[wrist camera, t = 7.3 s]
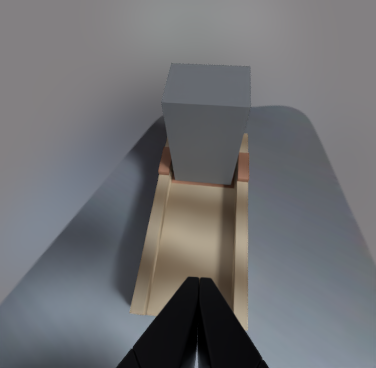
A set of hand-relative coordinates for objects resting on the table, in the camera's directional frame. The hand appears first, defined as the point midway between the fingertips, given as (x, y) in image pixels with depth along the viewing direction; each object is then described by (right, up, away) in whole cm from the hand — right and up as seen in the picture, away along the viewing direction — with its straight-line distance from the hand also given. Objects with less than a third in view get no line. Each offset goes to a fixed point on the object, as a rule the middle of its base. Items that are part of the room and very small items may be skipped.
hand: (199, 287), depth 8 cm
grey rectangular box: (+1, +6, +16) cm, 17 cm away
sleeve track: (+1, 0, +15) cm, 15 cm away
